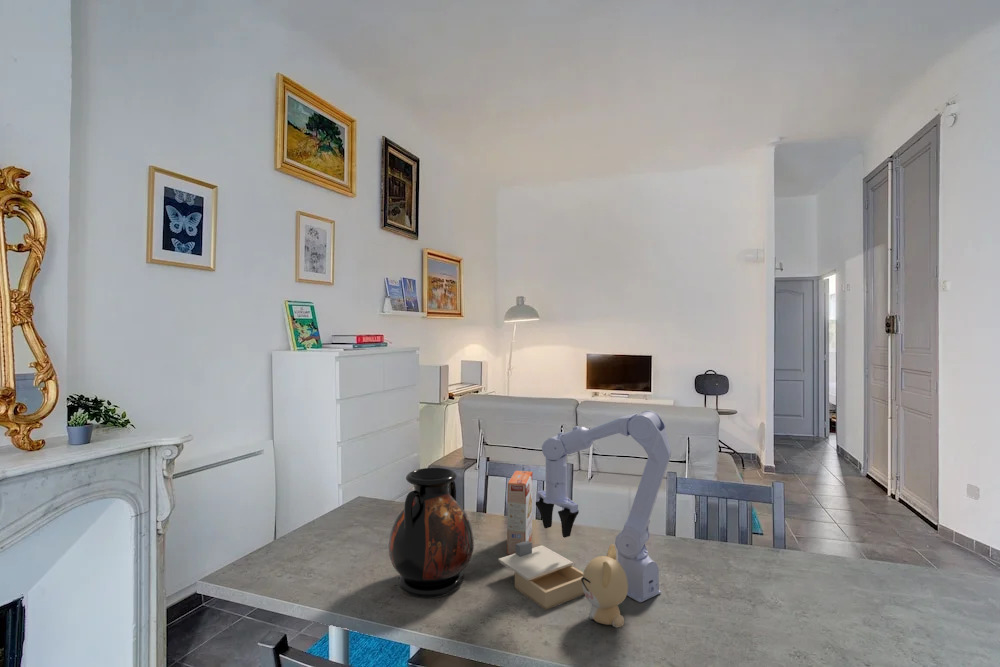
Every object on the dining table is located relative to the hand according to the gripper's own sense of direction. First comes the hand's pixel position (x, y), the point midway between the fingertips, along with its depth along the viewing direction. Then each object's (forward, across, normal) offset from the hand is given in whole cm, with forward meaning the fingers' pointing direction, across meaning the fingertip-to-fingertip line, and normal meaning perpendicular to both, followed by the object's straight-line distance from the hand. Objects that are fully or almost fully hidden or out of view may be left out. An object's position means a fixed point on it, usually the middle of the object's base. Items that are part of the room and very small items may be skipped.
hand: (556, 531), depth 131 cm
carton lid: (+6, +1, -8) cm, 10 cm away
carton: (+10, +7, -8) cm, 15 cm away
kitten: (+11, +23, -7) cm, 26 cm away
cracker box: (+10, -18, +1) cm, 21 cm away
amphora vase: (+10, -13, -31) cm, 35 cm away
